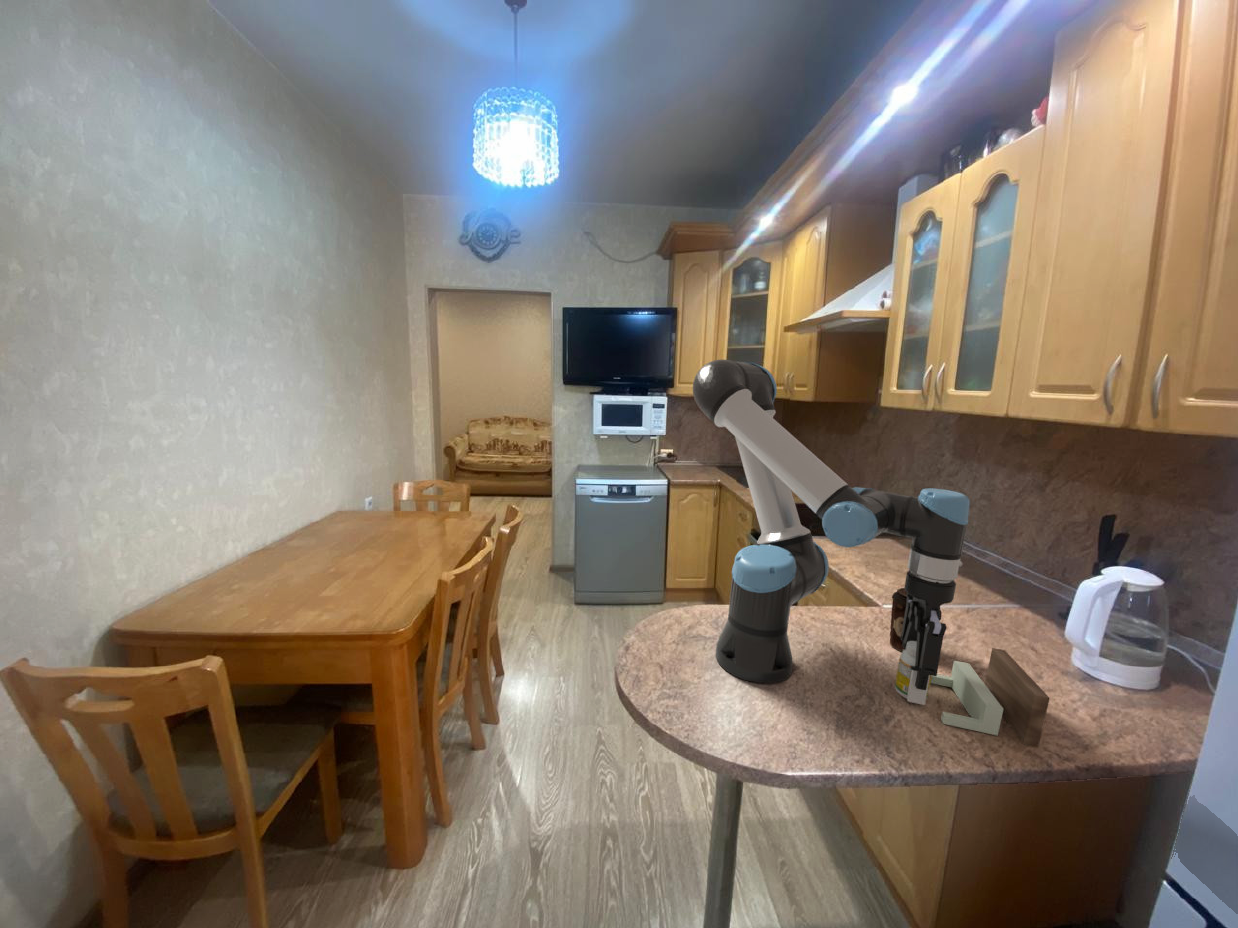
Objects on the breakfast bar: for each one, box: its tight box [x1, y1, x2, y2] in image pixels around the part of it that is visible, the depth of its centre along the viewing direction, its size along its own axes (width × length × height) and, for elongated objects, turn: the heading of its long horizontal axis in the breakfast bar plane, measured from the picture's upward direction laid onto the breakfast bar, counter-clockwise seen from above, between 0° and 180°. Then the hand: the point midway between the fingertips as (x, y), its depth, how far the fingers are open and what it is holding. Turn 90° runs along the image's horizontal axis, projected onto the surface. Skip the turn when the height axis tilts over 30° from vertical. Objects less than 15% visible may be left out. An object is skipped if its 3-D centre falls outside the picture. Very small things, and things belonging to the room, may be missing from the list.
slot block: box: [930, 660, 1003, 736], centre depth 88 cm, size 8×14×5 cm, turn 164°
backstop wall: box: [984, 647, 1051, 748], centre depth 85 cm, size 2×15×9 cm, turn 164°
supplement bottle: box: [894, 641, 932, 700], centre depth 89 cm, size 5×5×10 cm
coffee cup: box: [889, 587, 907, 653], centre depth 106 cm, size 9×8×13 cm
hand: (910, 691), depth 90 cm, fingers closed on supplement bottle, 5 cm apart
